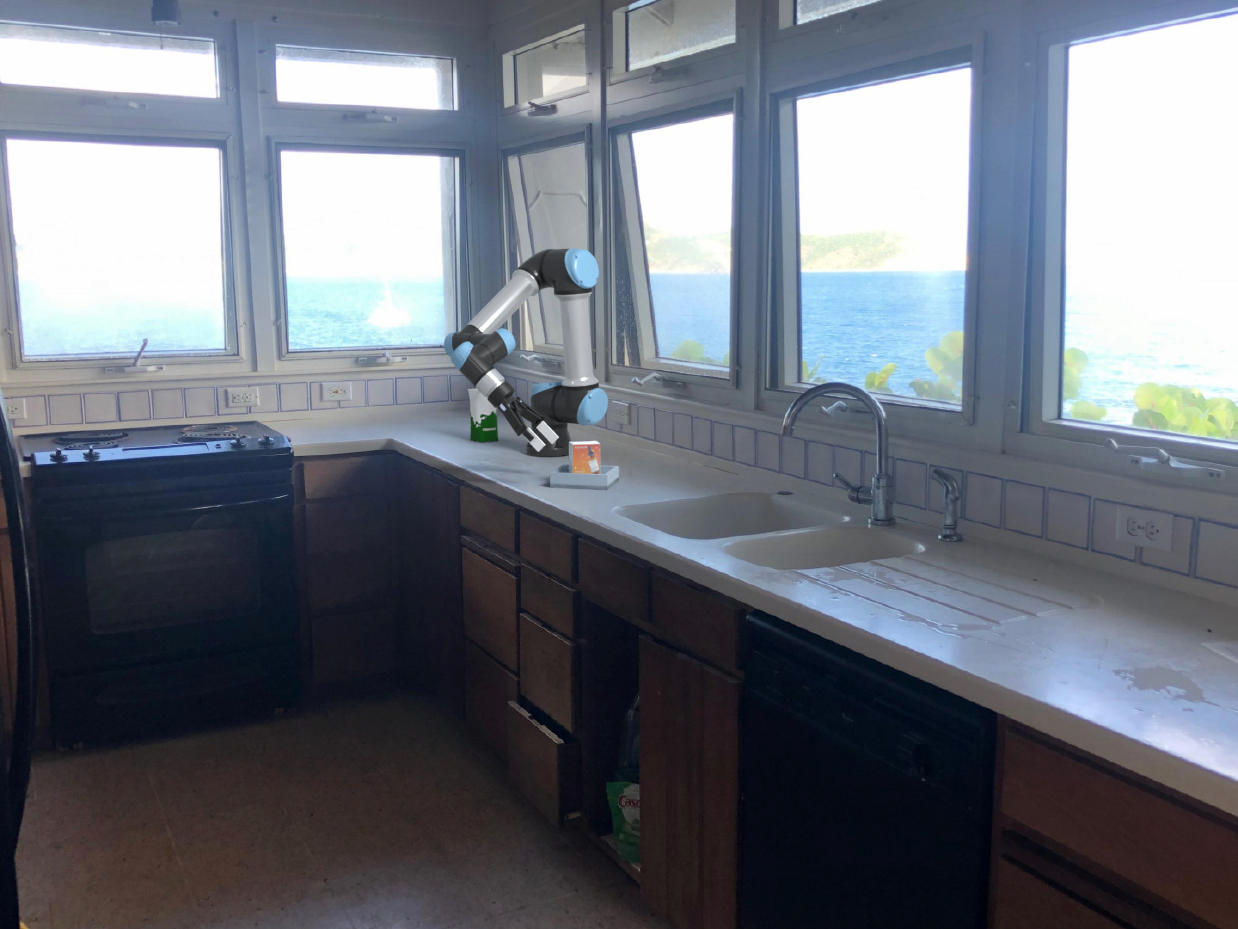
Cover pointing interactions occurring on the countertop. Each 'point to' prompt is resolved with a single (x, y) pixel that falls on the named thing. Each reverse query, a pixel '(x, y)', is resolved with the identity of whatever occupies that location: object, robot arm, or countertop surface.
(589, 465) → the small box
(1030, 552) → the countertop surface
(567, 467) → the tray
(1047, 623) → the countertop surface
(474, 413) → the milk carton
